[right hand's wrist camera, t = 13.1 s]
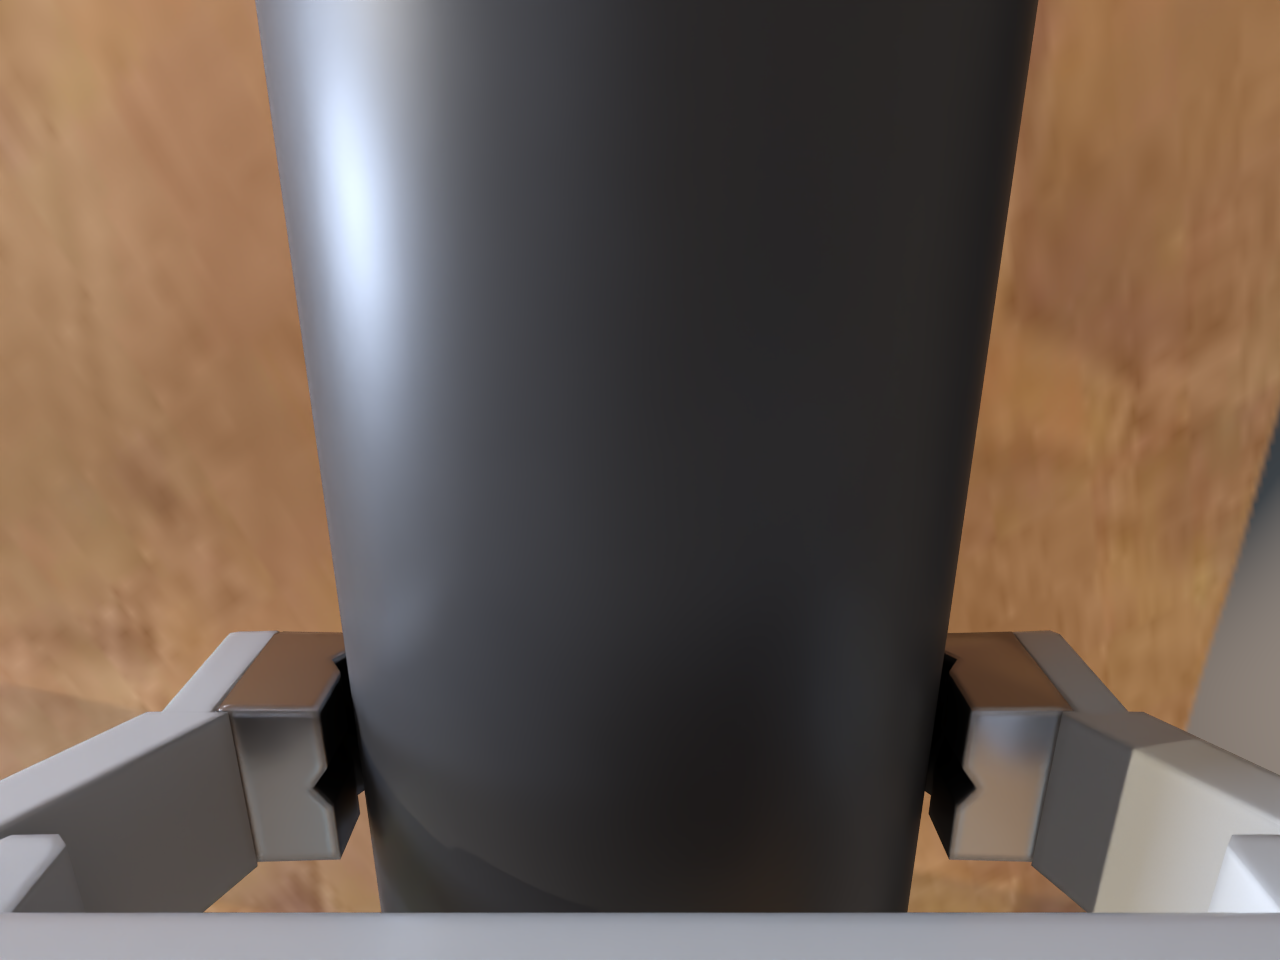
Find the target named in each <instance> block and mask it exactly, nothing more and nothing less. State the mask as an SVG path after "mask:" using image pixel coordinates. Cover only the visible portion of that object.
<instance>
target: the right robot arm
mask: <svg viewBox="0 0 1280 960" xmlns="http://www.w3.org/2000/svg"><path fill="white" fill-rule="evenodd" d="M364 790H365V789H364V782H363V775H362V768H361V760H360V753H359V746H358V739H357V732H356V724H355V717H354V710H353V703H352V695H351V688H350V681H349V674H348V667H347V659H346V652H345V645H344V638H343V633H335V632H279V631H241V632H234V633H230V634H229V635H228V636H227V637H226V638H225V639H224V640H223V642H222V643H221V644H220V645H219V646H218V647H217V648H216V650H215V651H214V652H213V653H212V654H211V655H210V657H209V658H208V659H207V660H206V661H205V662H204V663H203V665H202V666H201V667H200V668H199V669H198V670H197V672H196V673H195V674H194V675H193V676H192V677H191V678H190V680H189V681H188V682H187V683H186V684H185V685H184V687H183V688H182V689H181V690H180V691H179V692H178V693H177V695H176V696H175V697H174V698H173V699H172V700H171V702H170V703H169V704H168V705H167V706H166V707H165V708H164V710H163V711H162V712H146V713H144V714H141V715H139V716H137V717H135V718H133V719H131V720H129V721H126V722H124V723H122V724H120V725H118V726H116V727H114V728H112V729H109V730H107V731H105V732H103V733H101V734H99V735H97V736H94V737H92V738H90V739H88V740H86V741H84V742H82V743H79V744H77V745H75V746H73V747H71V748H69V749H67V750H64V751H62V752H60V753H58V754H56V755H54V756H52V757H49V758H47V759H45V760H43V761H41V762H39V763H37V764H34V765H32V766H30V767H28V768H26V769H24V770H22V771H20V772H17V773H15V774H13V775H11V776H9V777H7V778H5V779H2V780H0V960H1280V775H1278V774H1276V773H1274V772H1271V771H1269V770H1267V769H1265V768H1263V767H1261V766H1258V765H1256V764H1254V763H1252V762H1250V761H1248V760H1246V759H1243V758H1241V757H1239V756H1237V755H1235V754H1233V753H1231V752H1228V751H1226V750H1224V749H1222V748H1220V747H1218V746H1215V745H1213V744H1211V743H1209V742H1207V741H1205V740H1202V739H1200V738H1198V737H1196V736H1194V735H1192V734H1190V733H1187V732H1185V731H1183V730H1181V729H1179V728H1177V727H1175V726H1172V725H1170V724H1168V723H1166V722H1164V721H1162V720H1159V719H1157V718H1155V717H1153V716H1151V715H1149V714H1147V713H1144V712H1128V711H1127V710H1126V709H1125V707H1124V706H1123V705H1122V704H1121V703H1120V702H1119V701H1118V700H1117V698H1116V697H1115V696H1114V695H1113V694H1112V693H1111V692H1110V690H1109V689H1108V688H1107V687H1106V686H1105V685H1104V684H1103V683H1102V681H1101V680H1100V679H1099V678H1098V677H1097V676H1096V675H1095V674H1094V672H1093V671H1092V670H1091V669H1090V668H1089V667H1088V666H1087V664H1086V663H1085V662H1084V661H1083V660H1082V659H1081V658H1080V657H1079V655H1078V654H1077V653H1076V652H1075V651H1074V650H1073V649H1072V648H1071V646H1070V645H1069V644H1068V643H1067V642H1066V641H1065V640H1064V638H1063V637H1062V636H1061V635H1060V634H1058V633H1055V632H1053V631H1050V630H1048V631H1024V632H979V633H947V638H946V645H945V652H944V659H943V666H942V673H941V680H940V687H939V694H938V701H937V708H936V715H935V722H934V729H933V736H932V743H931V750H930V757H929V764H928V771H927V778H926V785H925V791H926V792H927V793H929V794H930V795H931V800H930V807H929V815H930V818H931V820H932V822H933V824H934V827H935V829H936V831H937V833H938V835H939V838H940V840H941V842H942V844H943V847H944V849H945V851H946V853H947V856H948V858H949V859H950V860H986V861H1023V862H1032V866H1033V867H1034V868H1035V869H1036V870H1038V871H1039V872H1040V873H1041V874H1042V875H1044V876H1045V877H1046V878H1047V879H1048V880H1049V881H1051V882H1052V883H1053V884H1054V885H1055V886H1057V887H1058V888H1059V889H1060V890H1061V891H1063V892H1064V893H1065V894H1066V895H1067V896H1069V897H1070V898H1071V899H1072V900H1073V901H1075V902H1076V903H1077V904H1078V905H1079V906H1080V907H1082V908H1083V909H1084V910H1085V911H1086V912H1088V913H203V912H204V911H205V910H206V909H207V908H209V907H210V906H211V905H212V904H213V903H214V902H216V901H217V900H218V899H219V898H220V897H222V896H223V895H224V894H225V893H226V892H227V891H229V890H230V889H231V888H232V887H233V886H235V885H236V884H237V883H238V882H239V881H240V880H242V879H243V878H244V877H245V876H246V875H248V874H249V873H250V872H251V871H252V870H253V869H255V868H256V867H257V862H266V861H301V860H337V859H341V856H342V854H343V852H344V849H345V847H346V845H347V842H348V840H349V838H350V836H351V833H352V831H353V829H354V826H355V824H356V822H357V819H358V817H359V815H360V810H359V802H358V794H360V793H361V792H363V791H364Z"/></svg>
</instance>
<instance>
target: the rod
mask: <svg viewBox="0 0 1280 960" xmlns="http://www.w3.org/2000/svg"><path fill="white" fill-rule="evenodd" d="M255 2H256V10H257V17H258V24H259V31H260V38H261V46H262V53H263V60H264V67H265V75H266V82H267V89H268V96H269V103H270V111H271V118H272V125H273V132H274V139H275V147H276V154H277V161H278V168H279V176H280V183H281V190H282V197H283V204H284V212H285V219H286V226H287V233H288V241H289V248H290V255H291V262H292V269H293V277H294V284H295V291H296V298H297V306H298V313H299V320H300V327H301V334H302V342H303V349H304V356H305V363H306V371H307V378H308V385H309V392H310V399H311V407H312V414H313V421H314V428H315V436H316V443H317V450H318V457H319V464H320V472H321V479H322V486H323V493H324V500H325V508H326V515H327V522H328V529H329V537H330V544H331V551H332V558H333V565H334V573H335V580H336V587H337V594H338V602H339V609H340V616H341V623H342V630H343V638H344V645H345V652H346V659H347V667H348V674H349V681H350V688H351V695H352V703H353V710H354V717H355V724H356V732H357V739H358V746H359V753H360V760H361V768H362V775H363V782H364V789H365V796H366V804H367V811H368V818H369V825H370V833H371V840H372V847H373V854H374V861H375V869H376V876H377V883H378V890H379V898H380V905H381V912H382V913H907V910H908V903H909V896H910V889H911V882H912V875H913V868H914V861H915V854H916V847H917V840H918V833H919V826H920V819H921V812H922V805H923V799H924V792H925V785H926V778H927V771H928V764H929V757H930V750H931V743H932V736H933V729H934V722H935V715H936V708H937V701H938V694H939V687H940V680H941V673H942V666H943V659H944V652H945V645H946V638H947V632H948V625H949V618H950V611H951V604H952V597H953V590H954V583H955V576H956V569H957V562H958V555H959V548H960V541H961V534H962V527H963V520H964V513H965V506H966V499H967V492H968V485H969V478H970V471H971V465H972V458H973V451H974V444H975V437H976V430H977V423H978V416H979V409H980V402H981V395H982V388H983V381H984V374H985V367H986V360H987V353H988V346H989V339H990V332H991V325H992V318H993V311H994V304H995V298H996V291H997V284H998V277H999V270H1000V263H1001V256H1002V249H1003V242H1004V235H1005V228H1006V221H1007V214H1008V207H1009V200H1010V193H1011V186H1012V179H1013V172H1014V165H1015V158H1016V151H1017V144H1018V137H1019V131H1020V124H1021V117H1022V110H1023V103H1024V96H1025V89H1026V82H1027V75H1028V68H1029V61H1030V54H1031V47H1032V40H1033V33H1034V26H1035V19H1036V12H1037V5H1038V0H255Z"/></svg>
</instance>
